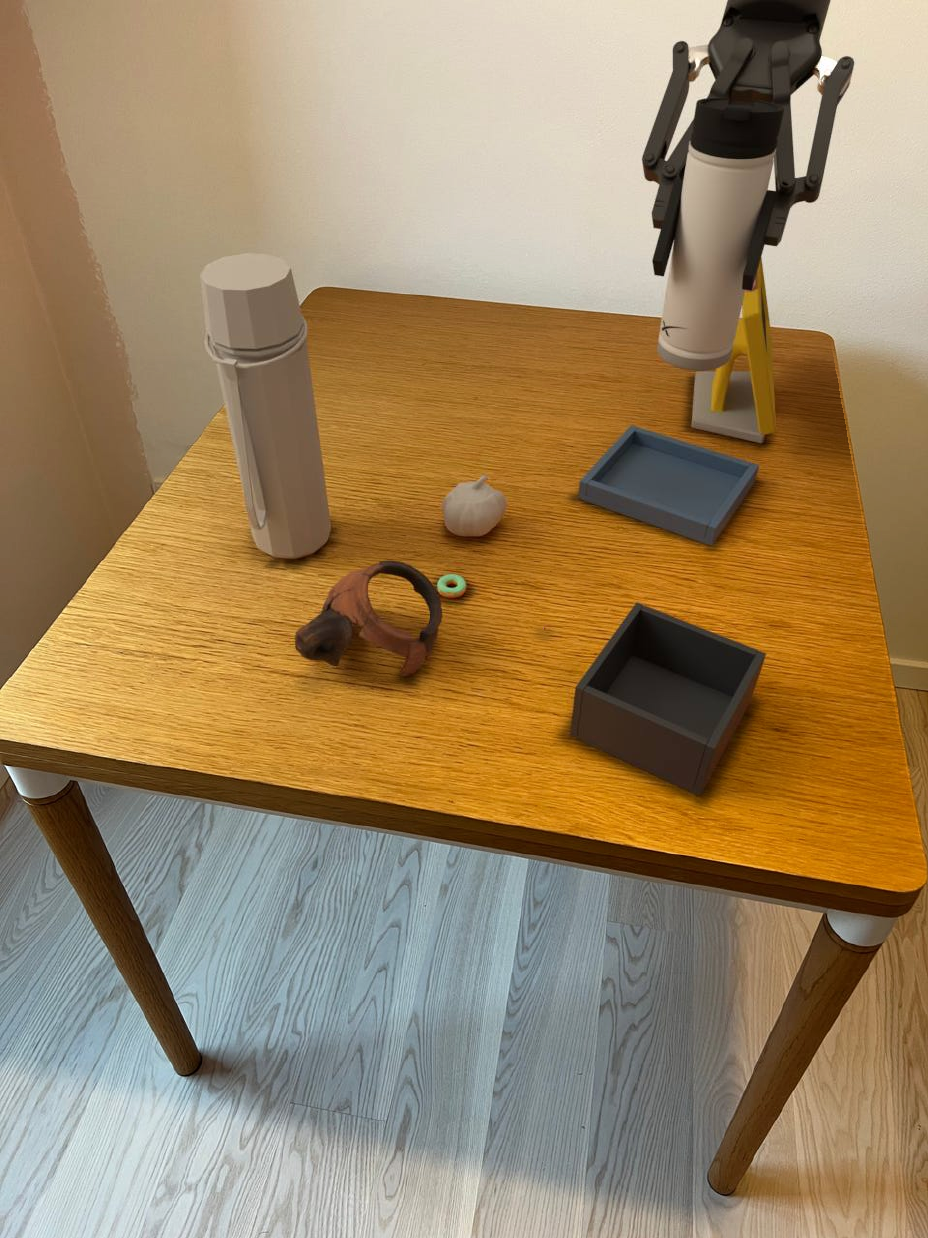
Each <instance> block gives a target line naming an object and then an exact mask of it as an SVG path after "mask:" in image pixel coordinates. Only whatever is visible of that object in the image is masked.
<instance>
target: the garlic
mask: <svg viewBox="0 0 928 1238" xmlns="http://www.w3.org/2000/svg"><path fill="white" fill-rule="evenodd" d="M488 479H489V477H488V476H487V474H484V475H482V476H480V477H479V479H478V480H476V481H463V482H459V483H458V484H457V485H456V486H455V487H454V488H452V489H451V490H450V491H449V492H448V493H447V494H446V496H445V497H444V498H443V501H442V504H441V505H442V506H441V509H442V513H443V521H444V525H445V527H446V529H447V530H448V531H449V532H450V533H452V534H454V535H456V536H459V537H482V536H484V535H486V534H488V533H489V532H491V531H492V529H494V528H495V527H496V526H497V525H498V524H499V522H500V521H501V520H502V519H503V518H504V516H505V514H506V512H507V507H508V504H507V503H508V502H507V498H506V496H505V495H504V493H502V491H500V490H497V489H496V488H494V487H492V486H491V485H490V484H488V483H485V482H487V481H488Z"/></svg>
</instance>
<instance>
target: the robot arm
mask: <svg viewBox="0 0 928 1238" xmlns="http://www.w3.org/2000/svg"><path fill="white" fill-rule="evenodd" d="M830 4H831V0H726V5H725V8H724V11H723V15H722V19H721V23H720V26H719V28H718V29H717V31H716V32H715V34H714V35H712V37H711V38H710V40H709V42H708V44H704V45H697V46H691V47H689V43H687V41H684V40H679V41H676V42H675V43H674V45H673V47H672V71H671V74H670V77H669V81H668V82H667V85H666V89H665V91H664V94H663V97H662V100H661V103H660V105H659V109H658V111H657V114H656V117H655V120H654V123H653V125H652V128H651V131H650V134H649V137H648V140H647V142H646V145H645V148H644V151H643V154H642V157H641V163H642V169H643V176H644V179H645V180H646V181H648V182H654V183H656V184H657V185H658V188H657V191H656V195H655V199H654V203H653V207H652V210H651V219H652V226H653V227H652V228H653V229H658V230H660V232H659V234H658V238H657V242H656V245H655V249H654V252H653V256H652V260H651V262H652V268H653V275H654V276H657V277H658V276H659V277H662V278H663V277H665V273H666V270H667V267H668V263H669V259H670V257H671V254H672V250H673V244H674V238H675V232H676V225H677V219H678V213H679V206H680V200H681V193H682V187H683V180H684V174H685V167H686V161H687V155H688V152H689V142H690V140H691V134H692V132H693V121H694V118H693V119H692V120H691V122H690V124H689V125H688V127H687V129H686V130H685V132H684V133H683V135H682V137H681V138H680V139H679V141H678V143H677V144H676V146H675V148H674V149H673V151H672V152H671V154H670V156H669V157H668V159H667V160H666V157H667V155H668V153H669V150H670V146H671V143H672V141H673V138H674V135H675V132H676V129H677V127H678V124H679V121H680V119H681V116H682V112H683V110H684V107H685V104H686V101H687V98H688V95H689V90H690V83H693V82H695V81H696V79H697V78H698V77H699V76H700V73H701V71H702V68H703V67H705V66H707V65H708V66H709V68H710V71H711V73H712V75H713V78H714V82H713V84H712V85H711V88H710V90H709V93H708V95H707V97H706V98H730V100H729V102H730V101H736V102H748V103H755V100H759V101H766V102H771V103H775V104H778V105H781V106H783V107H784V113H783V118H782V122H781V127H780V131H779V134H778V136H777V145H776V153H775V156H774V158H773V161H774V162H773V171H774V185H775V190H771V189H768V190H767V191H766V195H765V197H764V201H763V204H762V208H761V212H760V215H759V219H758V222H757V226H756V230H755V233H754V237H753V240H752V244H751V248H750V251H749V255H748V258H747V262H746V265H745V269H744V273H743V281H742V289H744V290H750V291H752V288H753V284H754V281H755V277H756V274H757V270H758V267H759V263H760V259H761V257H762V255H763V252H764V248H765V246H771V247H778V246H779V244H780V243H781V242H782V239H783V236H784V232H785V229H786V225H787V221H788V218H789V214H790V211H791V208H792V207H794V205H796V204H798V203H802V202H805V203H808V204H813V203H815V202H816V201H817V200H818V199H819V198H820V193H821V189H822V185H823V180H824V175H825V169H826V165H827V160H828V154H829V149H830V144H831V140H832V134H833V128H834V124H835V118H836V114H837V109H838V105H840V102H841V101H842V99H843V97H844V96H845V94H846V92H847V90H848V89H849V87H850V86H851V85H850V84H851V81H852V77H853V73H854V67H855V59H854V58H853V57H851V56H849V55H845V56H842V57H841V58H840V59H838V60H836V59H834V58H831V57H828V56H826V55H823V49H822V46H821V36H822V33H823V29H824V26H825V22H826V19H827V15H828V11H829V7H830ZM813 76H815V77H817V84H816V85H817V86H816V89H817V91H818V93H819V94H820V95H821V99H820V103H819V108H818V115H817V119H816V124H815V128H814V134H813V139H812V144H811V149H810V154H809V159H808V164H807V168H806V174H805V176H799V177H796V172H795V171H796V170H795V154H794V153H795V152H794V137H793V121H792V103H791V100H792V95H793V94H794V93H796V92H797V91H798V90H799V89H800V88H801V87H802V86H803V85H804V84H806V83H807V82H808V81H809V80H810V79H811V78H812V77H813Z"/></svg>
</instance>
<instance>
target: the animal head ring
mask: <svg viewBox="0 0 928 1238" xmlns="http://www.w3.org/2000/svg"><path fill="white" fill-rule="evenodd" d="M378 575H391V576H396V577H399V578H402V579H405V580H406V581H408V582H409V583H410V584H411V585H412V587H413V591H414V592H415V593H417V594H418V595H420V596H421V598H422V599H423V600H424V602H425V603H426V605H427V608H428V611H429V619H428V623H427V624H426V626H424V627H423V628H421V629H420V631H419V635H418V638H417V639H414V637H413V634H412V632H411V631H408V630H404V629H401V628H397V627H394V626H393V625H390V624H389V623H388V622H387V621H385V620H384V619H383V618H382V616H380V615H379V614H378V613H377V612H376V611H375V610H374V607H373V606H372V603H371V600H370V597H369V584H370V581H371V580H372V578H373V577H375V576H378ZM438 593H439V592H438V590H437V588H436V587H435V586H434V584H433V583H432V581H431V580H430V579H429V577H427V576H426V575H425V574H424V573H422V571H420V570H418V569H417V568H416V567H413V566H412V565H411V564H408V563H405V562H404V561H400V560H392V559H390V560H389V559H388V560H381V561H379V562H376V563H373V564H370V565H369V566H368V567H367V568H360V569H356V570H353V571H351V572H349V573H347V574H346V575H345V576H344V575H343V577H341V579H339V580H338V581H337V582H336V583H335V584H334V585H333V586H332V587H331V589H330V590H329V591H328V595H327V596H326V598H325V600H324V603H323V606H322V609H321V611H320V614H317V615H316V616H315V617H314V618H313V619H311V620H310V621H309V622H308V623H306V624H305V625H302V626H301V627H300V628H298V629H297V631H296V632H295V634H294V646H295V647H294V648H295V650H296V652H298V653H299V654H300V655H301V657H302V658H304V659H306V660H309V661H315V662H316V661H318V662H319V661H323V662H325V663H326V664H328V665H329V666H332V667H338V666H339V665H340V660H341V657H342V655H343V654H344V652H345V650H347V649H348V648H349V647H350V645H352V641H353V638H354V634H355V626H354V625H357V626H358V627H360V628H361V629H360V631H359V633H358V636H359V637H360V638H361V639H363V640H366V641H367V642H369V643H370V644H373V645H375V646H376V647H378V648H381V649H383V650H387V651H388V652H389V653H392V654H396V655H399V656H404V657H405V658H404V663H403V665H402V667H401V668H400V670H399V674H400V675H401V677H406V676H409V675H412V674H414V673H416V672H417V670H418V669H419V668H420V667H421V666H422V665H423V662H424V661H425V660H427V659H428V658H429V657H430V656H431V654H432V651H433V649H434V647H435V644H436V641H437V639H438V635H439V627H440V626H441V623H442V620H443V608H442V602H441V597H440V596H439V594H438Z"/></svg>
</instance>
